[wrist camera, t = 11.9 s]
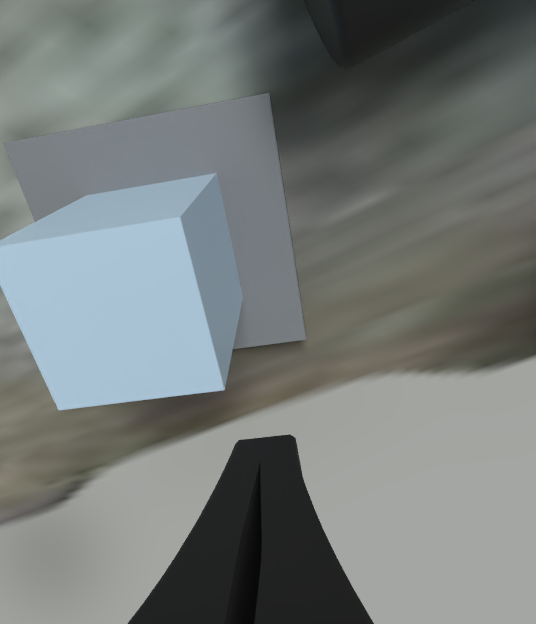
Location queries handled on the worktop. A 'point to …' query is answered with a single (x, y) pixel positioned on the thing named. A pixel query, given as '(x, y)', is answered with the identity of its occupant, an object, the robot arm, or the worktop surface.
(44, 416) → the worktop surface
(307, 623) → the robot arm
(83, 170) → the board
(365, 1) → the end cap
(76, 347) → the pale blue cube
